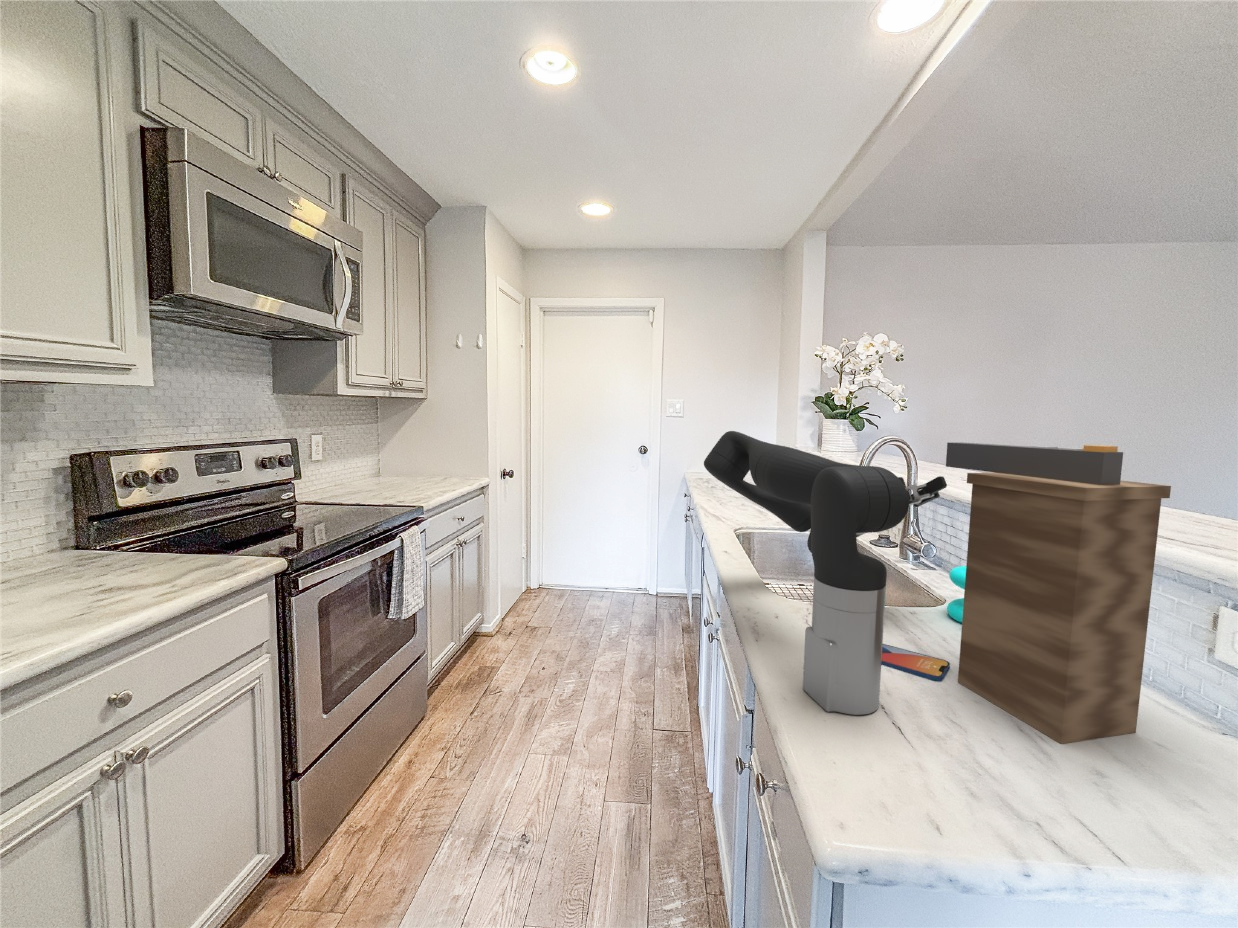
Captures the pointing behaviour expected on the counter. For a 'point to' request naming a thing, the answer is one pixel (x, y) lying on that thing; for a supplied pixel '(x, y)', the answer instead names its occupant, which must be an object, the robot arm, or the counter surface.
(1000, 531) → the wooden lidded box
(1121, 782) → the counter surface
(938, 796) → the counter surface
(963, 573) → the turquoise spool
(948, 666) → the smartphone
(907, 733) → the counter surface
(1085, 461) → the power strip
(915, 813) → the counter surface
